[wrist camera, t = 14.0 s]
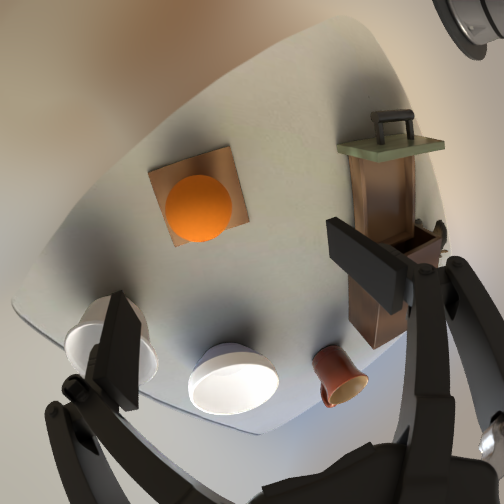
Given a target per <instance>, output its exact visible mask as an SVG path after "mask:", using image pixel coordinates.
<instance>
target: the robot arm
mask: <svg viewBox="0 0 504 504" xmlns="http://www.w3.org/2000/svg"><path fill="white" fill-rule="evenodd" d="M446 4H447V7H448V10H449V12H450V14H451V16H452V18H453V20H454V22H455V24H456V26H457V27H458V29H459V30H460V32H461V33H462V35H463V36H464V37H465V38H466V39H467V40H468V41H469V42H470V43H471V44H473V45H484V44H486V43H488V42H491V41H493V40H496V39H499V38H501V39H504V0H446ZM326 226H327V235H328V245H329V255H330V258H331V259H332V260H333V261H334V262H335V263H336V264H338V265H339V266H340V267H341V268H342V269H343V270H344V271H345V272H346V273H347V274H348V275H349V276H351V277H352V278H353V279H354V280H355V281H356V282H357V283H358V284H359V285H360V286H361V287H362V288H363V289H364V290H365V291H366V292H367V293H368V294H369V295H371V296H372V297H373V298H374V299H375V300H376V301H377V302H378V303H379V304H380V305H381V306H382V307H383V308H384V309H385V310H386V311H387V312H388V313H389V314H390V315H393V314H395V313H397V312H398V311H400V310H402V307H403V301H405V302H406V303H407V304H408V308H407V313H406V318H405V320H407V349H406V364H405V376H404V386H403V394H402V402H401V409H400V415H399V422H398V426H397V429H396V432H395V435H394V439H393V443H382V444H377V445H372V443H371V442H368V443H367V444H365V445H363V446H361V447H359V448H357V449H355V450H354V451H351V452H350V453H347V454H345V455H344V456H343V457H342V458H340V459H339V460H338V461H336V462H335V463H334V464H333V465H331V466H330V467H329V468H327V469H326V470H324V471H323V472H321V473H318V474H313V475H307V476H300V477H293V478H288V479H285V480H282V481H279V482H275V483H272V484H269V485H266V486H262V490H263V491H262V492H260V493H259V494H257V495H256V496H254V497H253V498H252V499H251V500H249V501H248V502H247V504H500V501H499V490H498V489H499V480H500V479H501V478H502V477H503V476H504V320H503V318H502V316H501V315H500V313H499V311H498V309H497V307H496V306H495V304H494V302H493V301H492V299H491V297H490V296H489V294H488V292H487V291H486V289H485V287H484V286H483V284H482V283H481V281H480V280H479V278H478V277H477V275H476V274H475V272H474V271H473V269H472V268H471V266H470V265H469V263H468V262H467V261H466V260H465V259H464V258H462V257H459V256H451V257H449V258H448V259H447V262H446V266H443V267H439V268H435V267H434V266H433V265H431V264H428V263H420V264H417V263H416V262H414V261H413V260H411V259H410V258H408V257H407V256H406V255H404V254H403V253H401V252H400V251H398V250H396V249H395V248H394V247H392V246H391V245H388V244H385V243H380V244H377V243H376V242H374V241H373V240H371V239H370V238H368V237H367V236H365V235H364V234H362V233H361V232H359V231H358V230H356V229H355V228H353V227H351V226H350V225H348V224H347V223H345V222H344V221H342V220H340V219H339V218H337V217H334V218H331V219H328V220H326ZM446 321H447V323H448V326H449V329H450V331H451V334H452V336H453V339H454V342H455V344H456V347H457V350H458V353H459V355H460V358H461V361H462V365H463V368H464V371H465V374H466V377H467V381H468V384H469V388H470V391H471V395H472V399H473V403H474V407H475V412H476V415H477V419H478V422H479V425H480V428H481V430H482V432H483V434H482V437H481V442H480V444H479V450H480V452H482V458H481V460H477V459H470V458H463V457H457V456H452V455H451V454H452V445H453V436H454V423H455V399H454V397H453V396H451V395H450V366H449V348H448V336H447V326H446ZM141 326H142V323H141V321H140V320H139V318H138V317H137V315H136V313H135V312H134V310H133V308H132V307H131V305H130V303H129V301H128V300H127V298H126V296H125V294H124V293H123V291H122V290H121V291H118V292H115V293H112V294H111V298H110V301H109V305H108V309H107V312H106V316H105V320H104V324H103V329H102V333H101V337H100V342H99V343H98V344H95V345H94V346H93V348H92V349H91V351H90V354H89V358H88V360H89V361H88V363H87V368H86V373H85V378H84V379H83V378H82V377H81V376H80V375H79V374H73V375H71V376H69V377H68V378H67V379H66V380H65V381H64V383H63V385H62V393H63V395H65V396H66V397H67V398H68V399H69V400H70V401H71V402H70V403H68V404H66V405H64V406H63V405H62V404H61V403H60V402H58V401H53V402H51V403H50V404H49V405H48V406H47V407H46V410H45V421H46V426H47V431H48V435H49V440H50V444H51V447H52V452H53V455H54V459H55V462H56V466H57V469H58V472H59V474H60V478H61V481H62V484H63V486H64V489H65V491H66V494H67V497H68V499H69V502H70V504H130V502H129V501H128V499H127V497H126V496H125V494H124V492H123V490H122V489H121V487H120V485H119V483H118V481H117V479H116V477H115V476H114V474H113V472H112V470H111V468H110V466H109V464H108V462H107V460H106V458H105V455H104V453H103V451H102V449H101V446H100V444H99V442H98V440H97V438H98V439H99V440H100V442H101V443H102V444H103V445H104V447H105V448H106V449H107V450H108V451H109V453H110V454H111V455H112V456H113V457H114V459H115V460H116V461H117V462H118V463H119V464H120V465H121V466H122V468H123V469H124V470H125V471H126V472H127V473H128V474H129V475H130V476H131V477H132V478H133V479H134V480H135V481H136V482H137V483H138V484H139V485H140V486H141V487H142V488H143V489H144V490H145V491H146V492H147V493H148V494H149V495H150V496H151V497H152V498H153V499H154V500H155V501H157V502H158V503H159V504H235V503H233V502H231V501H229V500H227V499H225V498H223V497H222V496H220V495H218V494H217V493H215V492H214V491H212V490H210V489H209V488H208V487H206V486H205V485H203V484H202V483H200V482H199V481H197V480H196V479H195V478H193V477H192V476H190V475H189V474H188V473H186V472H185V471H184V470H183V469H181V468H180V467H178V466H177V465H176V464H175V463H173V462H172V461H171V460H170V459H168V458H167V457H166V456H165V455H164V454H163V453H161V452H160V451H159V450H158V449H157V448H156V447H155V446H153V445H152V444H151V443H150V442H149V441H148V440H147V439H146V438H145V437H144V436H143V435H141V434H140V433H139V432H138V431H137V430H136V429H135V428H134V427H133V426H132V425H131V424H130V423H129V422H128V421H127V420H126V419H125V418H124V417H123V416H122V415H121V414H120V413H119V406H120V407H121V408H122V409H123V410H124V411H132V410H137V409H138V408H139V407H138V391H139V357H140V339H141ZM96 436H97V437H96Z"/></svg>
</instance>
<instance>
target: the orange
mask: <svg viewBox="0 0 504 504" xmlns="http://www.w3.org/2000/svg"><path fill="white" fill-rule="evenodd" d="M165 214H166V218H167V221H168V224H169V225H170V227H171V229H172V230H173V231H174V232H175V233H176V234H177V235H178V236H180V237H181V238H183V239H185V240H188V241H192V242H204V241H208V240H211V239H213V238H215V237H217V236H218V235H219V234H221V233H222V232H223V231H224V229H225V228H226V227H227V225H228V223H229V221H230V218H231V214H232V202H231V198H230V195H229V193H228V191H227V189H226V188H225V187H224V186H223V185H222V184H221V183H220V182H219V181H217V180H216V179H214V178H212V177H209V176H205V175H193V176H189V177H186V178H184V179H182V180H181V181H179V182H178V183H177V184H176V185H175V186H174V187H173V188H172V189H171V191H170V192H169V194H168V197H167V200H166V204H165Z"/></svg>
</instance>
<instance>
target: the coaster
mask: <svg viewBox="0 0 504 504" xmlns="http://www.w3.org/2000/svg"><path fill="white" fill-rule="evenodd" d="M148 175H149V178H150V181H151V184H152V187H153V190H154V193H155V195H156V198H157V201H158V204H159V206H160V209H161V212H162V215H163V217H164V220H165V223H166V225H167V228H168V230H169V233H170V236H171V238H172V241H173V243H174V246H175V247H177V246H180V245H183V244H186V243H189V242H192V241H188V240H185V239H183V238H181V237H180V236H178V235H177V234H176V233H175V232H174V231H173V230H172V229H171V227H170V225H169V224H168V221H167V218H166V214H165V204H166V200H167V197H168V194H169V192H170V191H171V189H172V188H173V187H174V186H175V185H176V184H177V183H178V182H179V181H181V180H182V179H184V178H186V177H189V176H193V175H205V176H209V177H212V178H214V179H216V180H217V181H219V182H220V183H221V184H222V185H223V186H224V187H225V188H226V189H227V191H228V193H229V195H230V198H231V202H232V214H231V218H230V221H229V223H228V225H227V227H226V228H225V229H224V230H227V229H230V228H233V227H236V226H239V225H242V224H245V223H248V222H250V221H249V218H248V214H247V210H246V206H245V202H244V198H243V194H242V191H241V187H240V183H239V179H238V175H237V171H236V167H235V164H234V160H233V156H232V152H231V148H230V146H227V147H224V148H220V149H217V150H214V151H210V152H207V153H204V154H200V155H197V156H194V157H191V158H188V159H185V160H182V161H179V162H176V163H173V164H170V165H167V166H165V167H162V168H159V169H156V170H154V171H151V172H148Z"/></svg>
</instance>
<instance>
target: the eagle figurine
mask: <svg viewBox="0 0 504 504" xmlns="http://www.w3.org/2000/svg"><path fill="white" fill-rule="evenodd" d="M415 223H416V224H418V225H420V226H422V227H423V224H422V221H421V220H418V221H417V220H415ZM433 233H434V234H436V235H438V236H440V237H441V238H442V242H441V250H440V254H441V253H444V252H445V253H446V252H448V251H447V250H442V249H443V246H444V245H445V243H446V241H447V229H446V227H445V225H444V223H443V222H442V220H439V221H437V222H436V225H435V228H434V231H433ZM439 257H440V258H441V257H442V256H441V255H440V256H439Z"/></svg>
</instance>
